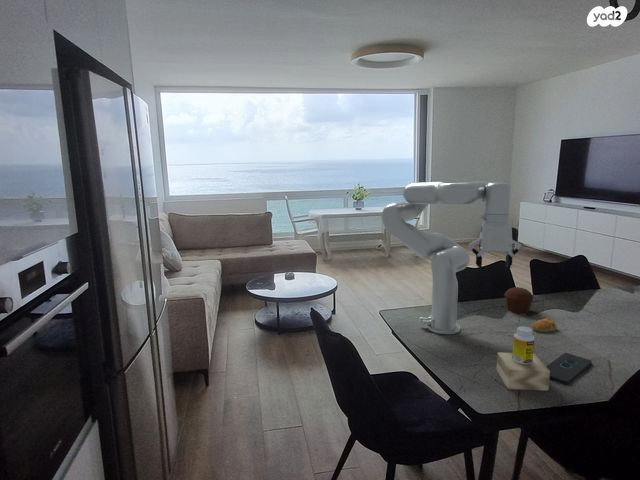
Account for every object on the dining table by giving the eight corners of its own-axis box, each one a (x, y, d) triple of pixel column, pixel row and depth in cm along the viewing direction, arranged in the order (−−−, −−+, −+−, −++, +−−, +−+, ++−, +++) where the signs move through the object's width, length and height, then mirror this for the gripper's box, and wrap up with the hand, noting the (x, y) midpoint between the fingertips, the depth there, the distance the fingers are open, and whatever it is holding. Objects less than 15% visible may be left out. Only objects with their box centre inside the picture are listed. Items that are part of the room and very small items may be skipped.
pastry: (543, 335, 154) (543, 325, 153) (526, 329, 160) (527, 320, 159) (558, 330, 158) (559, 320, 157) (542, 324, 164) (542, 315, 163)
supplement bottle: (526, 367, 117) (528, 334, 116) (508, 360, 122) (510, 327, 120) (536, 362, 120) (539, 329, 119) (518, 355, 125) (521, 323, 123)
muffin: (498, 309, 180) (500, 288, 179) (510, 304, 187) (511, 283, 186) (526, 317, 171) (527, 294, 170) (537, 310, 179) (538, 288, 177)
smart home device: (593, 360, 131) (568, 381, 118) (592, 365, 131) (567, 387, 119) (565, 351, 137) (538, 371, 125) (564, 356, 137) (538, 376, 125)
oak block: (508, 388, 117) (509, 369, 116) (496, 370, 128) (497, 352, 127) (548, 390, 116) (550, 371, 115) (533, 371, 127) (534, 353, 126)
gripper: (473, 220, 137) (470, 269, 140) (527, 220, 135) (523, 270, 138) (467, 217, 144) (465, 264, 147) (518, 217, 142) (515, 264, 145)
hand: (493, 267), depth 143 cm, fingers open, 9 cm apart
